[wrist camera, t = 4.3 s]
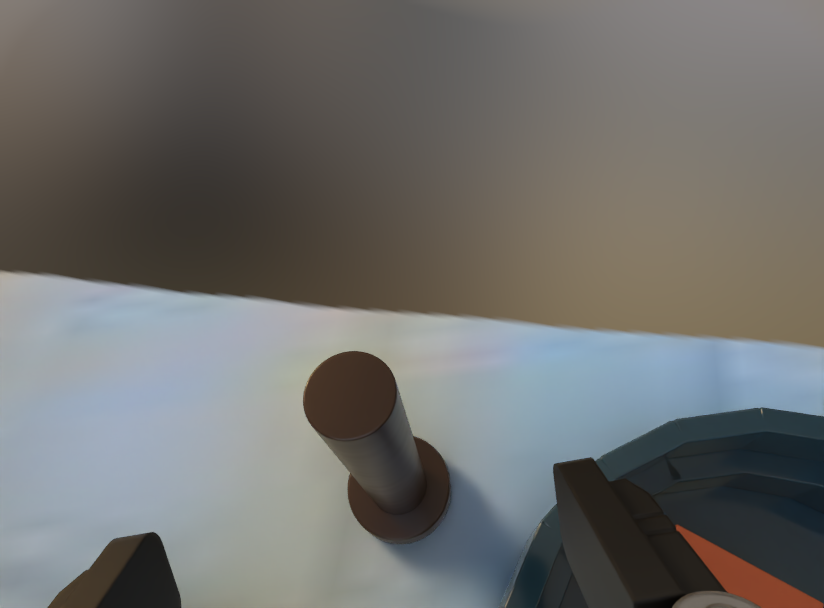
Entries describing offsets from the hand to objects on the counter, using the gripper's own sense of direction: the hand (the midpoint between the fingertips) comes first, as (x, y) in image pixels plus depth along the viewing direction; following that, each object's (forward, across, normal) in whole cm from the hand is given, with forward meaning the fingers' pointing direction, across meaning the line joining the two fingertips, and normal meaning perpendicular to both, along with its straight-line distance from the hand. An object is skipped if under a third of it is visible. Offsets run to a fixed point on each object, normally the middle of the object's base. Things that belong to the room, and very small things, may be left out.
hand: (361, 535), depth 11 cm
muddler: (+10, 0, +6) cm, 12 cm away
